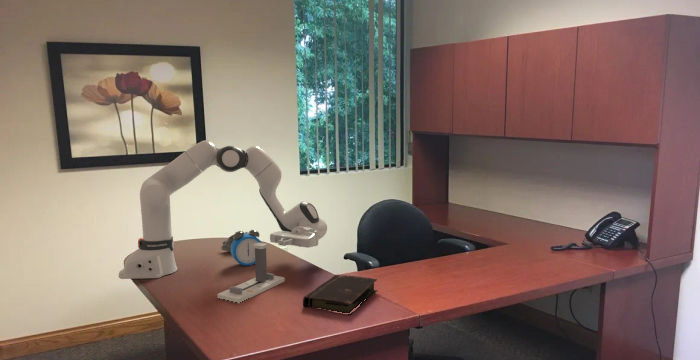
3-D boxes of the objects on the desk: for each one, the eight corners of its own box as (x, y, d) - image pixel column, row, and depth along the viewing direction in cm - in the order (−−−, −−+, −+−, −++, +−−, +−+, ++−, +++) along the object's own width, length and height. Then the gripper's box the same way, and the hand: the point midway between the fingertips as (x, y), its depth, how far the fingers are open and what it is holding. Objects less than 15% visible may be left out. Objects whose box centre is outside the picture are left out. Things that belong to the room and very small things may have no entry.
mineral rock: (220, 252, 233) (219, 232, 232) (233, 247, 243) (232, 227, 242) (243, 255, 229) (243, 234, 227) (256, 249, 239) (255, 229, 237)
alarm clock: (234, 268, 210) (232, 233, 208) (230, 264, 215) (229, 230, 213) (264, 264, 215) (263, 230, 213) (260, 260, 221) (259, 227, 219)
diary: (302, 309, 168) (301, 295, 167) (334, 286, 190) (333, 273, 190) (352, 317, 160) (352, 302, 160) (379, 292, 183) (379, 279, 182)
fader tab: (259, 278, 191) (258, 242, 189) (268, 280, 189) (267, 243, 187) (253, 280, 188) (252, 244, 186) (262, 282, 186) (261, 246, 184)
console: (264, 277, 198) (264, 268, 198) (284, 281, 193) (284, 272, 193) (217, 298, 176) (217, 288, 176) (238, 303, 171) (238, 293, 171)
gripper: (281, 226, 214) (260, 233, 202) (321, 231, 204) (301, 238, 192) (281, 240, 215) (261, 248, 203) (321, 245, 205) (302, 254, 193)
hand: (281, 243), depth 198 cm, fingers closed
